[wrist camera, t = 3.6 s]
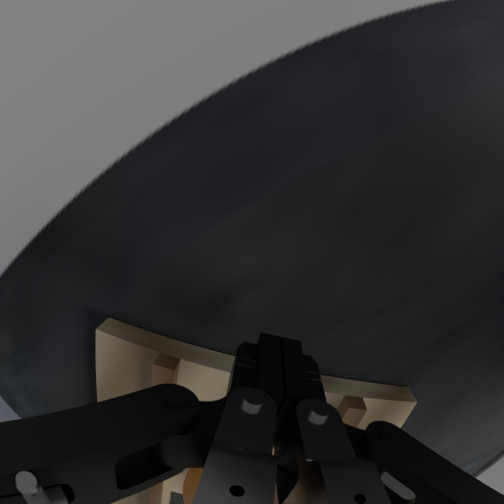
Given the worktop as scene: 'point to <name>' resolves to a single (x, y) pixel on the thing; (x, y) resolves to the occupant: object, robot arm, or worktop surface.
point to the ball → (191, 484)
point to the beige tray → (216, 385)
